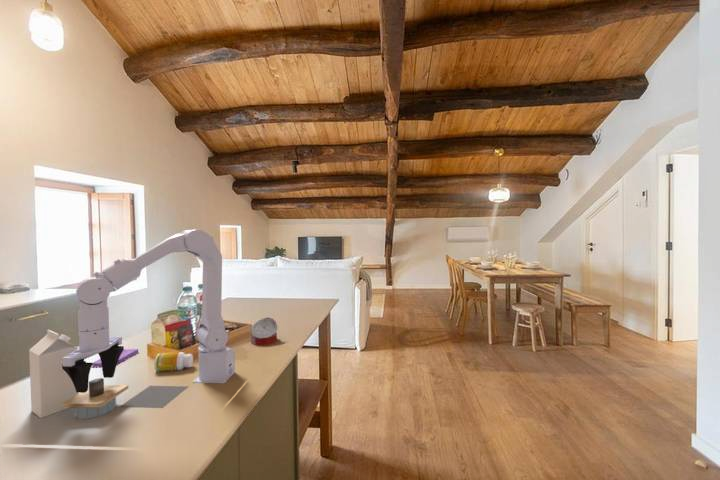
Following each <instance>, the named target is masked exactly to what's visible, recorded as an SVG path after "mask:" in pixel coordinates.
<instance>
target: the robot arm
mask: <svg viewBox="0 0 720 480" xmlns="http://www.w3.org/2000/svg"><path fill="white" fill-rule="evenodd" d="M185 252H188V253H189V254H192V255H194V256H195V257H196V258H197V259H198V260H200V262H202V286H201V287H202V288H201V289H202V290H201V292H202V298H201V299H202V300H201V302H202V303H201V304H202V305H201V316H200V319H199V323H198V327H197V329H196V331H195V338H196V340H197V341H198V342H199V346H198V348H197V349H198V350H197V351H198V354H197V356H198V376H197V377H196V378H195V379H194V380H192V383H195V384H196V383H197V384H202V383H203V384H205V383H206V384H208V383H209V384H225V383H226V382H227V381H228V380H229V379H231V377H232V376H234V374H235V373H236V368H235V367H236V366H235V365H236V364H235V361H236V359H235V349H233V348H232V347H231V348H230V347H227V346H226V344H227V343H228V341H229V335H228V332H227V330H226V327H225V325H226V324H225V321H224V319H223V316H222V295H223V294H222V291H223V290H222V286H223V285H222V284H223V281H222V280H223V279H222V278H223V256H222V255H223V254H222V253H221V251H220V250H219V247H218V246H217V245H216V243H215V241H214V237H213V236H212V235H210V234H209V233H208V232H206V231H205V230H203V229H184V230H183V231H181V232H179V233H176V234H174V235H173V234H172V236H169V237H168V238H165V239H164V240H161V242H159V243H158V244H156V245H154V246H152V247H151V248H150V249H148V250H146V251H145V252H143V253H141V254H140V255H138V256H137V257H135V258H122V259H119V258H117V259H116V260H114V261H113V263H114V264H111V265H110V266H109V267H107V268H105V269H103V270H101V271H99V272H98V271H95V272H94V273H93V274H92V275H93V276H94V277H88V278H85V279H83V280H82V281H81V282H79V284H78V286H77V288H76V290H75V291H76V295H77V296H78V299H79V300H78V304H77V305H78V311H77V321H78V323H77V325H78V326H77V328H78V343H79V344H78V346H77V347H76V350H75V351H74V352H72V353H71V354H69V355H68V356H66V357H63V364H62V369H63V370H64V371H65V372H66V373H67V374H68V375H69V377H70V378H71V380H72V382H73V384H74V387H75V389H76V392H78V393H85V392H87V390H88V388H89V382H90V380H89V379H90V372H91V368H92V367H93V366H92V364H93V362H86V359H89V358H91V357H93V356H96V355H98V356H99V359H101V363H102V367H101V368H102V369H101V370H102V376H103V379H104V378H108V379H110V378H113V377H114V376H115V373H116V368H117V365H118V364H117V362H118V360H119V357H120V355H121V354H122V352H123V350H124V349H125V347H124V346H122V344H123V337H122V336H113V337H110V317H109V315H110V314H109V313H110V312H109V310H110V309H109V307H108V298H109V297H110V295H111V293H112V292H116V291H118V290H120V289H121V288H123V287H124V286H126V285H128V284H129V283H131V282H133V281H135V280H137V279H138V278H139V277H140V276H141V272H142V270H143V269H145V268H146V267H147V266H150V265H152V264H153V263H156V262H157V261H159V260H161V259H163V258H164V257H167V256H168V255H170V254H172V253H185Z"/></svg>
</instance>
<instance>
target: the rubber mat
mask: <svg viewBox="0 0 720 480" xmlns="http://www.w3.org/2000/svg"><path fill="white" fill-rule="evenodd" d="M188 388H189V386H187V385H186V386H183V385H181V386H180V385H148V387H146V388H144V389H143V390H141V391H140V392H139V393H137V394H136V395H134V396H132V397H131V398H130V399H128V400H127V401H126V402H124V403H122V404H121V405H120V406H119V408H151V409H152V408H153V409H154V408H156V409H164V407H166V406H167V405H168V404H169V403H170V402H172V401H173V400H174V399H176V398H177V397H178V396H179V395H180V394H181V393H183V392H184V391H185V390H186V389H188Z"/></svg>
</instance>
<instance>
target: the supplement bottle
mask: <svg viewBox="0 0 720 480" xmlns="http://www.w3.org/2000/svg"><path fill="white" fill-rule="evenodd" d="M193 363H194V354H193V353H185V352H183V351H176V352H161V353H157V355H156V356H155V358H154V363H153V366H154V371H155V372H167V371H168V372H170V371H171V372H172V371H182V370H183V369H184V368H191V367H192V366H193Z"/></svg>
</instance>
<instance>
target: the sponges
mask: <svg viewBox="0 0 720 480" xmlns="http://www.w3.org/2000/svg"><path fill="white" fill-rule="evenodd" d="M138 353H139V348H131V349H130V348H128V349H127V348H126V349H125V348H124V350H123V352H122V354H121V355H120V357H119V360H118V362H117V365H119V364H120V363H122V362H123V361H125V360H127V359H129V358H131V357H133V356H134V355H136V354H138ZM92 363H93V364H92V366H91V367H95V368H98V367H101V368H102V363H101V359H100V358H99V359H97V360H95V361H93V362H92Z"/></svg>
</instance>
